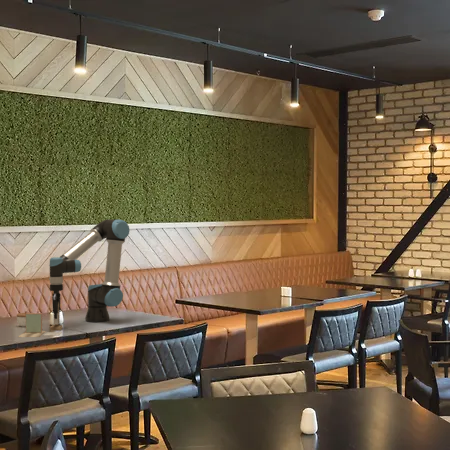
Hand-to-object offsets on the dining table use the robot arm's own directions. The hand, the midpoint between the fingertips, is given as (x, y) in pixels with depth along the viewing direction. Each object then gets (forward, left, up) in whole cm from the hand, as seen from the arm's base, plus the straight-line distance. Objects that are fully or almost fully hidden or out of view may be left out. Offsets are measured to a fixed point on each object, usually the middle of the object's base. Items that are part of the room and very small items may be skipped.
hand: (56, 323), depth 428 cm
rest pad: (0, +14, -4) cm, 15 cm away
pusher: (0, 0, -4) cm, 4 cm away
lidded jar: (+21, -13, -4) cm, 25 cm away
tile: (+11, +10, -4) cm, 15 cm away
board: (+11, +14, -4) cm, 18 cm away
